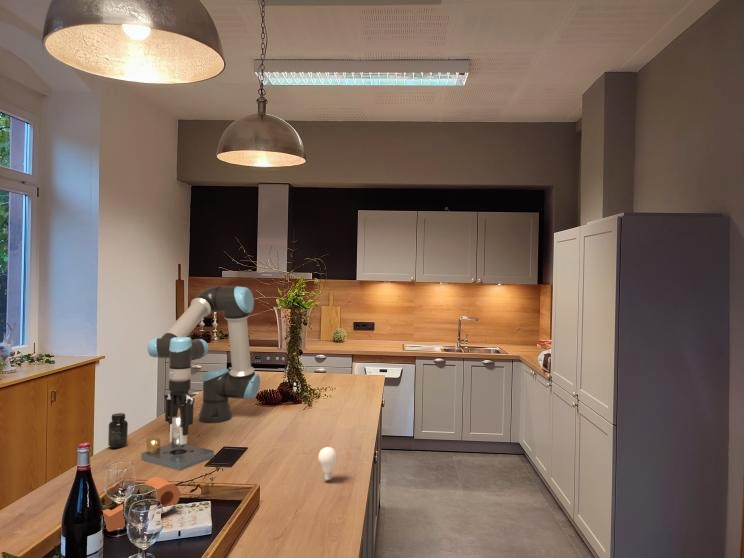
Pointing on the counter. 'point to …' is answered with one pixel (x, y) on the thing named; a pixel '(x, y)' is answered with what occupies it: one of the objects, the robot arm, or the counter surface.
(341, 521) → the counter surface
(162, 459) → the plate
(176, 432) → the rounded peg
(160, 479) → the crank
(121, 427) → the supplement bottle
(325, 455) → the lightbulb
